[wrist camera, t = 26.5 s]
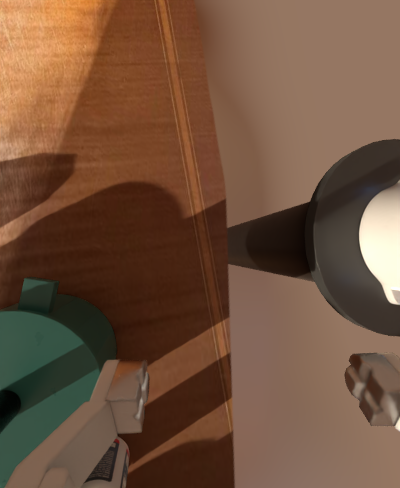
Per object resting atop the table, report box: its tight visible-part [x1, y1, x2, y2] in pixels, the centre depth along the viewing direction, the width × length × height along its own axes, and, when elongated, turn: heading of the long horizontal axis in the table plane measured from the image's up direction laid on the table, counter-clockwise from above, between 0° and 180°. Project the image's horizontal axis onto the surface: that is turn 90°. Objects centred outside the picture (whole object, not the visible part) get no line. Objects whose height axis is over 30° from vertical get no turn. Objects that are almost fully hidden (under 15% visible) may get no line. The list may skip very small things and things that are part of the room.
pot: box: [1, 277, 117, 370], centre depth 23 cm, size 14×19×8 cm
